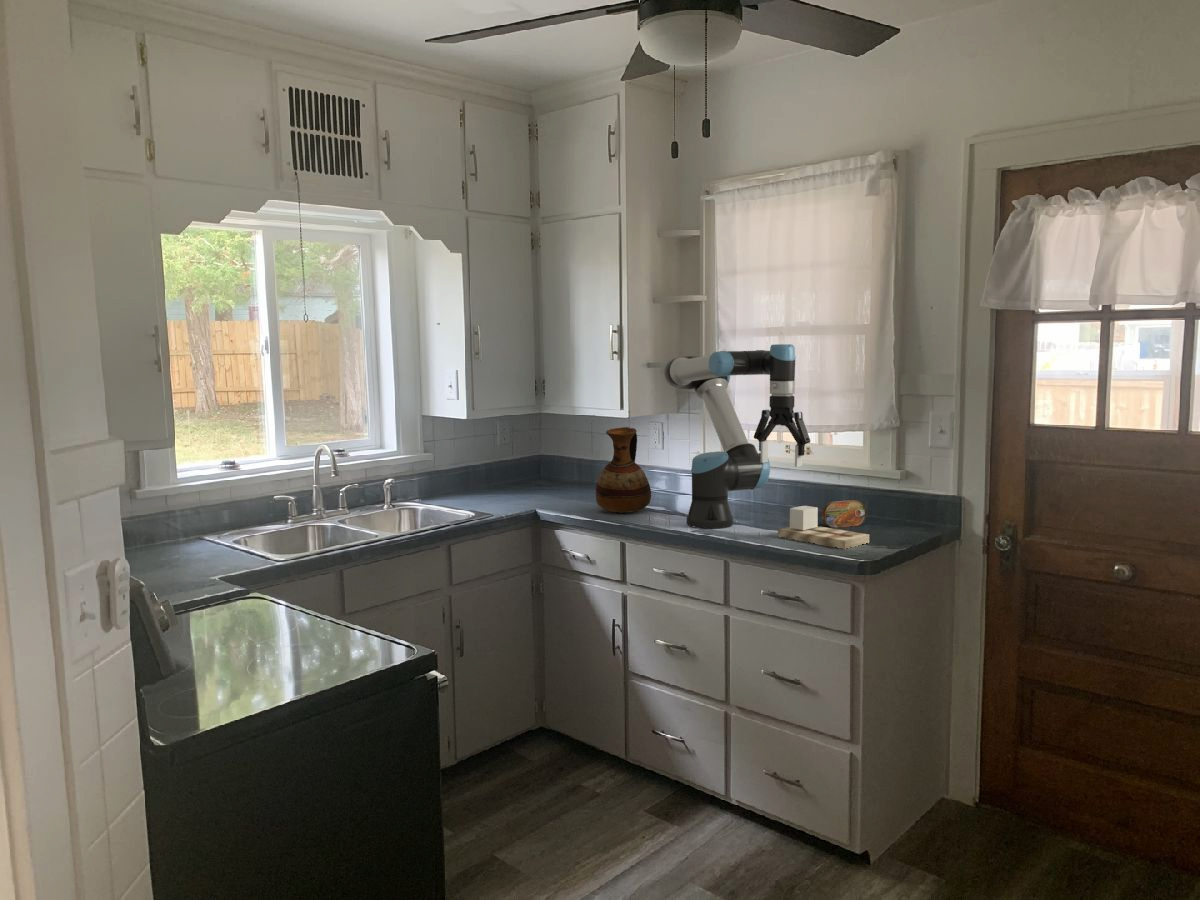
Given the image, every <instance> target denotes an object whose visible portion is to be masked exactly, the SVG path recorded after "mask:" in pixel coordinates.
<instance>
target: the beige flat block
mask: <svg viewBox="0 0 1200 900" xmlns="http://www.w3.org/2000/svg"><path fill="white" fill-rule="evenodd" d="M778 536H780V537H779V538H781V537H785V538H784V539H786V538H790V539H789V540H792V539H795V540H794V541H797V540H799V541H798V542H802V541H805V542H804V543H808V542H810V543H809V544H813V543H815V544H814V545H820V546H823V547H824V546H826V547H829V548H830V547H831V548H835V547H837V549H840V548H843V549H842V550H847V549H846V548H848V549H851V548H850V547H852V548H856V547H859V546H858V545H860V546H863V545H862V544H864V545H866V543H868V544H869V543H870V534H867V533H862V532H855V531H851V530H850V531H849V530H844V529H839V528H832V527H824V526H821V525H819V526H818V525H817V527H815V528H811V529H806V530H799V529H793V528H790V525H789V526H785V527H781V528H778V529H777V537H778ZM855 546H856V547H855Z"/></svg>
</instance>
